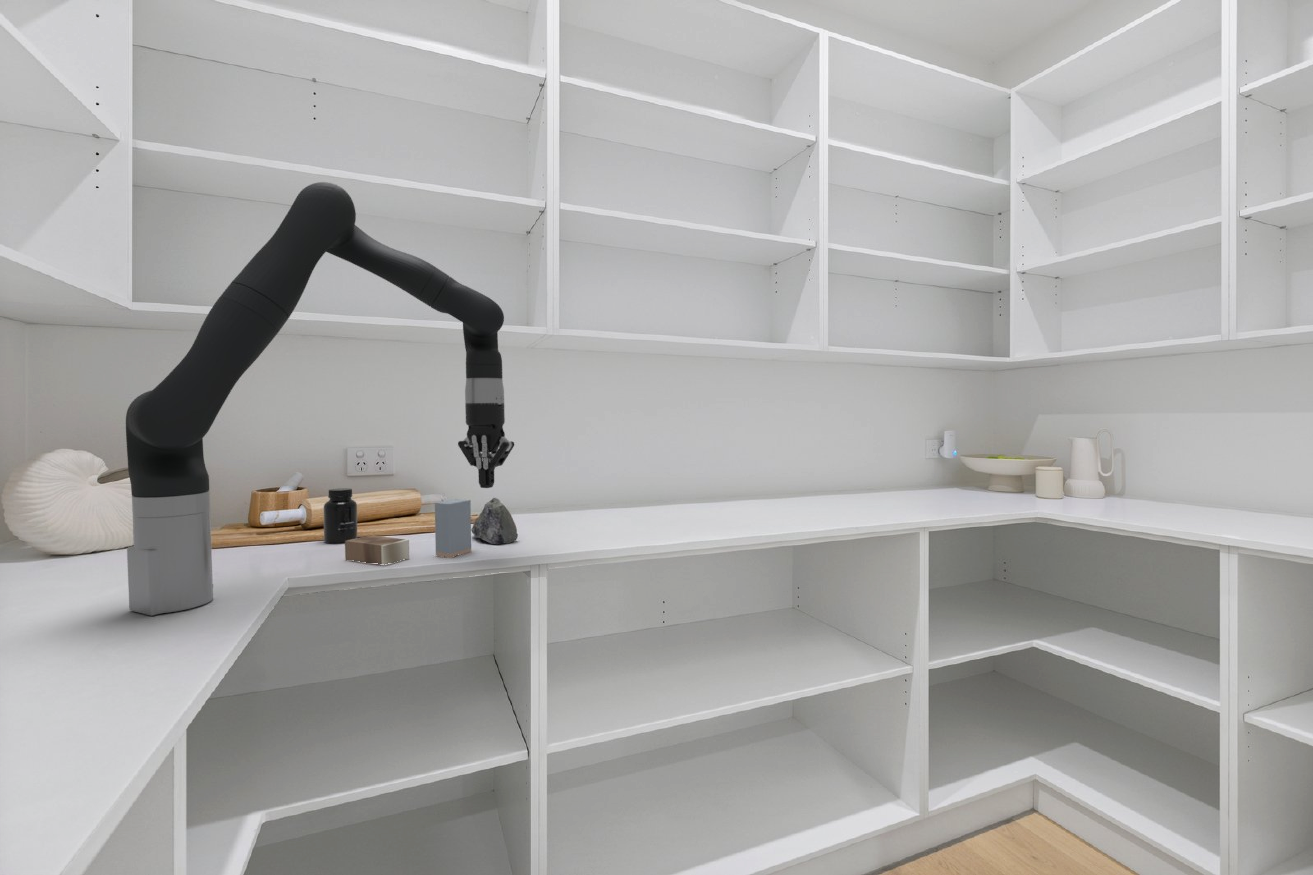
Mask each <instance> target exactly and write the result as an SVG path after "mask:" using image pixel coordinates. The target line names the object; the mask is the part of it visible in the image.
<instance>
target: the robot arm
mask: <svg viewBox="0 0 1313 875" xmlns="http://www.w3.org/2000/svg"><path fill="white" fill-rule="evenodd" d="M356 218H357V214H356V206H355V204H354V201H353V199H352V197H351V196H350V194H349V193H348V192H347V191H346V189H344V188H343V187H341V186H339V185H338V184H335V183H332V182H328V181H327V182H326V181H320V182H315V183H311V184H309V185H307V186H305V187H304V188H302V190H301V191H300V192H299V193H298V194H297V196H296V197H295V199H294V201H293V203H292V205H291V206H290V208H289V210H288V211H287V214H286V215H285V216H284V218H283V220H282V222H280V224H279V226H278V227H277V229H276V230H275V232H274V233H273V235H272V236H271V237H270V238H269V239H268V241H267V242H266V243H265V244H264V245H263V246H262V247H261V248H260V249H259V250H258V251H257V253H255V255H254V256H253V257H252V258H251V259H250V260H249V261H248V263H247V264H246V265H245V266H244V267H243V268H242V270H241V271H240V272H239V273H238V274H237V276H235V278H234V279H233V280H232V281H231V282H230V283H229V285H228V286H227V287H226V288H225V289H224V291H223V292H222V294H221V295H220V296H219V297H218V299H217V300H216V301H215V303H214V304H213V306H212V307H211V308H210V310H209V312H208V314H207V315H206V317H205V319H204V321H203V323H202V325H201V327H200V329H199V331H198V333H197V335H196V336H195V339H194V342H193V343H192V346H191V347H190V349H189V351H188V352H186V354H185V356H184V357H183V358H182V359H181V361H180V362H179V363H178V364H177V365H176V366H175V367H174V368H173V369H172V370H171V371H170V372H169V373H168V375H167V376H166V377H164V379H163V380H161V382H159V384H158V385H156V386H155V387H154V388H153V389H152V390H148V391H146V392H143V393H142V394H140V395H138V396H137V397H136V398H134V399H133V400H132V402H130V404H129V406H128V407H127V410H126V414H125V436H126V437H125V439H126V453H127V454H126V455H127V456H126V457H127V469H128V477H129V481H130V487H131V488H130V491H131V499H132V500H131V503H132V504H131V506H132V531H133V532H132V535H133V538H132V539H133V546H132V545H131V546H128V547H127V549H126V557H127V558H126V559H127V561H126V562H127V579H128V580H127V581H128V582H127V583H128V604H129V611H132V612H135V613H139V614H143V615H146V616H157V615H160V614H167V613H173V612H180V611H184V610H189V609H193V608H197V607H200V606H204V605H206V604H208V603H210V602H212V601H213V600H214V584H213V582H214V581H213V559H212V558H213V555H212V554H213V553H212V529H211V526H212V525H211V498H210V497H211V496H210V494H211V493H210V475H209V473H208V471H207V467H206V464H205V458H204V455H205V454H204V440H203V438H204V437H205V436H206V435H207V433H208V432H209V431H210V429H211V427H212V426H213V423H215V420H216V418H217V416H218V414H219V412H220V410H221V409H222V407H223V405H224V404H225V402H226V400H227V398H228V397H229V395H230V394H231V392H232V390H233V388H234V387H235V385H236V384H237V383H238V381H239V380H240V378H241V377H242V376H243V375H244V374H245V372H246V371H247V370H248V369H249V368H250V367H251V366H252V365H253V364H254V363H255V361H256V360H257V359H258V358H259V357H260V356H261V354H262V353H263V352H264V351H265V350H266V348H267V347H268V346H269V344H270V343H271V342H272V341H273V340H274V338H275V337H276V336H277V335H278V334H279V332H280V331H281V330H282V328H283V327H284V325H285V324H286V323H287V321H288V320H289V319H290V317H291V316H292V314H293V312H294V310H295V309H296V307H297V306H298V303H299V302H300V300H301V297H302V295H303V293H304V292H305V290H306V287H307V285H308V283H309V280H310V278H311V276H312V273H313V271H314V270H315V268H316V265H318V262H320V260H321V258H322V257H323V256H324V255H325V253H328V254H330V255H331V256H332V255H333V256H335V257H338V258H340V259H342V260H344V261H347V262H349V263H351V264H352V265H355V266H357V267H359V268H360V269H361V268H362V269H363V270H365V271H367V272H369V273H371V274H373V275H375V276H377V277H379V278H381V279H383V280H385V281H387V282H389V283H390V284H392V285H393V286H395V287H397V288H399V289H401V290H402V291H404V292H406V293H407V294H409V295H410V296H412V297H413V298H416V299H417V300H418V301H420V302H421V303H423V304H425V305H426V306H428V307H430V308H431V309H433V310H435V311H437V312H439V313H440V314H447V315H448V316H449V315H450V316H452V318H454V319H456V320H458V321H459V322H461V323H462V333H463V341H464V348H465V378H466V379H465V387H464V388H465V389H464V398H465V399H464V401H465V402H464V404H465V424H466V426H468V428H467V432H466V437H465V438H464V439H463V440H458V443H457V446H458V448H459V449H460V450H461V452H462V454H463V455H464V457H465V459H466V460H467V462H468V464H469V466H473V467H476V468H477V470H478V484H479V487H480V488H481V489H489V488H493V487H494V485H495V469H496V468H497V467H500V466H503V464H504V463H505V461H506V459H507V458H508V456H510V455H509V454H510V453H511V451H512V450H513V448H514V447H515V442H514V441H512V440H511V441H510V440H508V439H507V438H506V434H505V431H504V424H505V421H506V420H505V419H506V417H505V387H504V383H503V359H502V358H503V357H502V354H501V352H500V351H499V342H498V341H499V340H498V339H499V338H498V336H499V335H498V332H499V331H500V330H501V328H502V327H503V325H504V321H505V315H504V312H503V310H502V308H501V307H500V305H499V304H498V303H496V301H495V300H493V299H491V298H490V297H489V296H487V295H485V294H483V293H481V292H479V291H477V290H476V289H473V288H471V287H469V286H467V285H464V284H462V283H460V282H459V281H457V280H455V279H454V278H453V277H451V276H450V275H449V274H447V273H446V272H444V271H442V269H441V270H440V269H439V268H438V267H436V266H434V265H433V264H431V263H429V261H426V260H423V258H420V257H417V256H415V255H413V254H410V253H406V252H404V251H401V250H399V249H395V248H392V247H390V246H388V245H386V244H383V243H381V242H380V241H378V240H376V239H374V238H373V237H371V236H370V235H368V233H366V232H364V231H363V230H362V229H361V228H360V227H359V226H357V225H356V221H357V220H356Z"/></svg>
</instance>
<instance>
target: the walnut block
mask: <svg viewBox="0 0 1313 875" xmlns="http://www.w3.org/2000/svg"><path fill="white" fill-rule="evenodd" d="M344 554H345V555H344V558H345V559H346V560H345V561H347V560H354V561H360V562H366V563H365V564H367V563H378V564H384V565H385V564H388V563H394V562H397V561H400V560H403V559H408V560H410V539H405V538H396V537H390V536H389V537H388V536H379V535H372V534H371V535H366V536H361V537H357V538H356V539H351V540H347V541H345V543H344ZM354 561H353V562H354ZM360 562H359V563H360ZM397 563H398V562H397ZM394 564H395V563H394Z"/></svg>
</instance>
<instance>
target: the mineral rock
mask: <svg viewBox="0 0 1313 875" xmlns="http://www.w3.org/2000/svg"><path fill="white" fill-rule="evenodd" d="M471 534H473V535H474V536H475V537H476V538H478V539H481V540H482V541H485V542H487V543H489V544H493V545H501V544H504V545H505V544H510V543H512V542H515V541H516V540H518V536H519V535H518V529H517V525H516V523H515V520H514V519H513V516H512V514H511V511H509V509H508V508H507V507H506V506H505V504H504V503H502V502H501V501H500V499H499V498H497V497H493V498H491V500H489V501H488V502H486V503H485V504H484V506H483V509H482V510H481V512H480V513H479V515H478V517H476V518H475V520H474V521H473V525H472V526H471Z"/></svg>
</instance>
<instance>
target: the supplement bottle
mask: <svg viewBox="0 0 1313 875" xmlns="http://www.w3.org/2000/svg"><path fill="white" fill-rule="evenodd" d="M327 498H328V501H326V502H325V503H324V504H323V540H324V543H326V544H333V545H334V544H345V541H347V540H351V539H356V538H358V504H357V502H356V501H355V500H354V499H352V498H353V489H352V488H345V487H344V488H340V487H339V488H331V489H328V497H327Z"/></svg>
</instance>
